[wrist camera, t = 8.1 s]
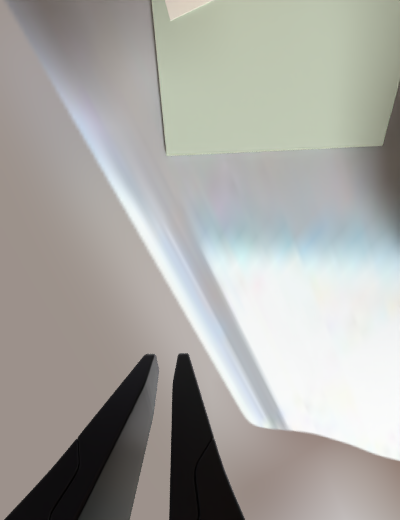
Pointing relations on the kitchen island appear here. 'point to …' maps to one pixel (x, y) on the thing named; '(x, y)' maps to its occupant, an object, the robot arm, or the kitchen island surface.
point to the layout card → (276, 73)
